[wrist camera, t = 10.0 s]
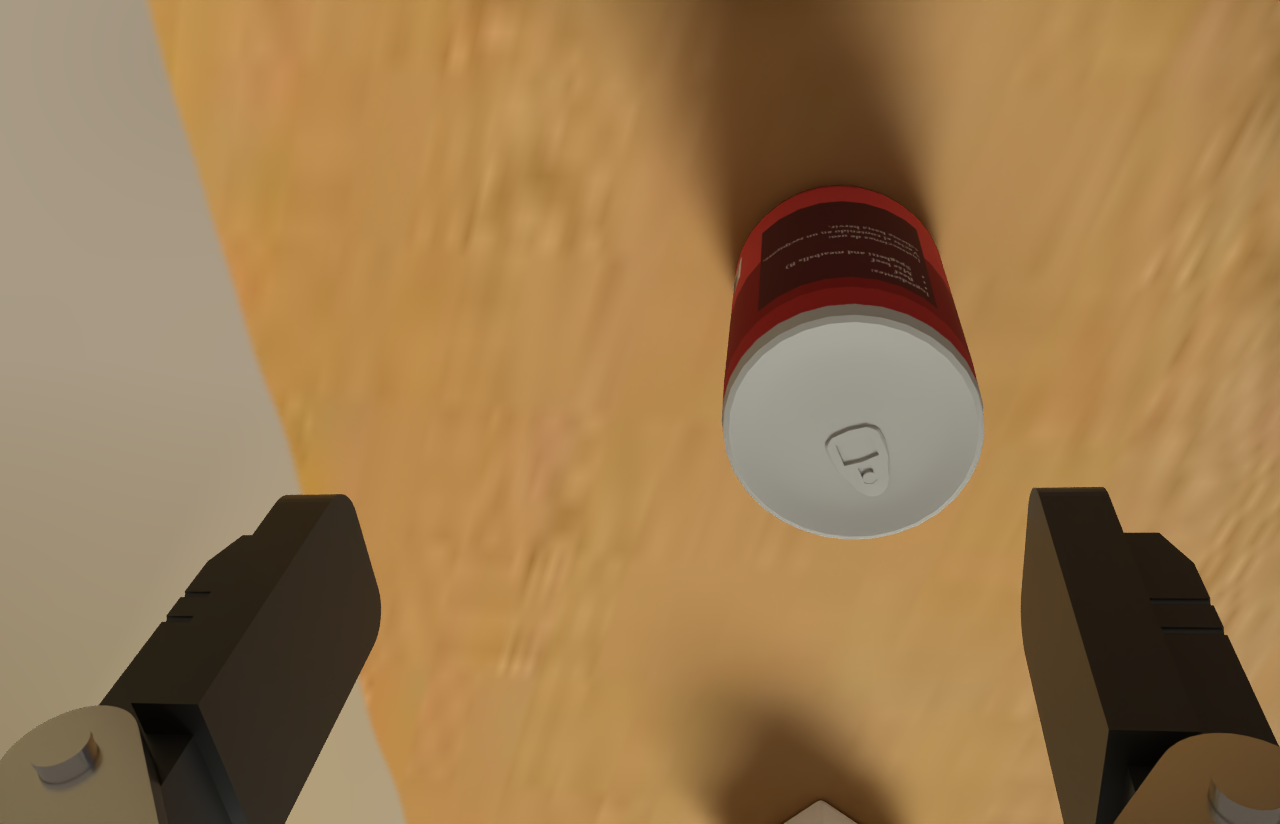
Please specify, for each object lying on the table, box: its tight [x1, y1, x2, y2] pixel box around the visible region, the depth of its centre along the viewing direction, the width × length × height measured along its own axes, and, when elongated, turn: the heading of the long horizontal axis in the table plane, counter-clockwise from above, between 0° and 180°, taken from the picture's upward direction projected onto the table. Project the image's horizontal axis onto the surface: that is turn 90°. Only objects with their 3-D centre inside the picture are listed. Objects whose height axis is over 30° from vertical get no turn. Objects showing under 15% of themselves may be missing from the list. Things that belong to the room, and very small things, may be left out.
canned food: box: [722, 185, 984, 539], centre depth 37 cm, size 8×8×11 cm
